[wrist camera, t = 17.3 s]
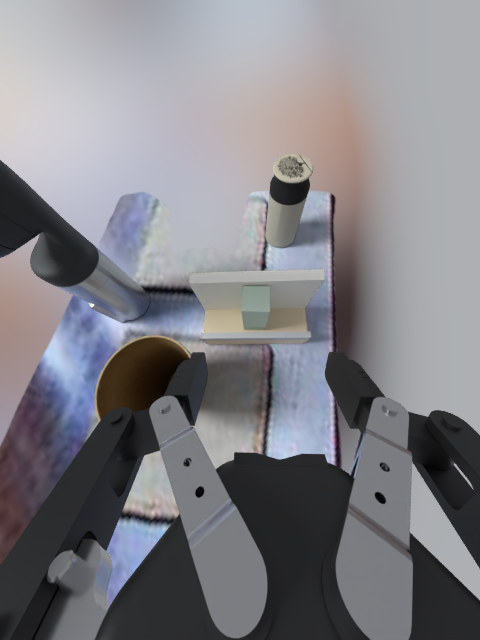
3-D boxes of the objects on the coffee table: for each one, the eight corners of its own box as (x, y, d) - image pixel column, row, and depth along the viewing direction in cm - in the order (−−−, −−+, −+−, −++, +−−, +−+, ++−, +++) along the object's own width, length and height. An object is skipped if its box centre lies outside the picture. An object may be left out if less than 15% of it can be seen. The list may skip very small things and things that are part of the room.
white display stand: (303, 343, 43) (331, 321, 28) (207, 344, 45) (184, 323, 29) (299, 306, 46) (323, 268, 31) (209, 308, 47) (189, 272, 32)
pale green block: (265, 330, 41) (269, 311, 30) (243, 329, 41) (241, 311, 31) (265, 310, 42) (269, 286, 32) (244, 310, 42) (242, 285, 32)
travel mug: (269, 251, 52) (278, 185, 35) (262, 228, 54) (267, 157, 37) (298, 244, 52) (321, 176, 35) (289, 222, 54) (306, 148, 37)
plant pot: (198, 339, 45) (172, 317, 30) (229, 398, 41) (217, 407, 25) (140, 373, 43) (80, 367, 28) (166, 438, 39) (111, 473, 24)
